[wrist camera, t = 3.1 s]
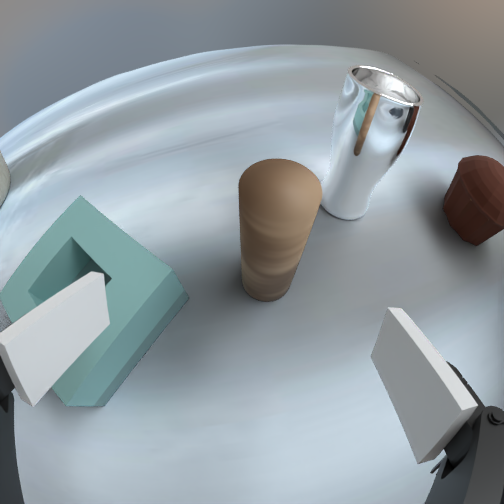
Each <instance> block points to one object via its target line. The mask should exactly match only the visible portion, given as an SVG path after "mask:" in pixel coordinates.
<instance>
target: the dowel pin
mask: <svg viewBox="0 0 504 504" xmlns="http://www.w3.org/2000/svg"><path fill="white" fill-rule="evenodd" d="M321 200H322V187H321V184H320V182H319V180H318V178H317V177H316V176H315V174H314V173H313V172H312V171H310V170H309V169H308V168H306V167H305V166H303V165H301V164H299V163H297V162H294V161H291V160H286V159H267V160H263V161H260V162H257V163H255V164H253V165H251V166H250V167H249V168H247V169H246V170H245V171H244V173H243V174H242V176H241V178H240V180H239V216H240V243H241V269H242V283H243V286H244V289H245V290H246V292H247V293H248V294H249V295H250V296H251V297H253V298H255V299H257V300H259V301H265V302H269V301H275V300H277V299H279V298H281V297H282V296H284V295H285V294H286V292H287V291H288V289H289V287H290V284H291V282H292V279H293V277H294V274H295V272H296V269H297V266H298V264H299V261H300V258H301V256H302V253H303V250H304V248H305V245H306V242H307V239H308V237H309V234H310V231H311V228H312V226H313V223H314V220H315V217H316V214H317V211H318V208H319V206H320V203H321Z"/></svg>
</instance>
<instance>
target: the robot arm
mask: <svg viewBox="0 0 504 504" xmlns="http://www.w3.org/2000/svg"><path fill="white" fill-rule="evenodd" d="M109 324H110V320H109V314H108V307H107V299H106V291H105V281H104V274H103V273H97V272H92V271H91V272H90V273H88V274H87V275H85V276H83V277H82V278H80V279H78V280H77V281H75V282H74V283H72V284H71V285H69V286H67V287H66V288H64V289H63V290H61V291H60V292H58V293H57V294H55V295H54V296H52V297H51V298H49V299H48V300H46V301H45V302H43V303H42V304H40V305H39V306H37V307H36V308H34V309H33V310H31V311H30V312H29V313H27V314H25V315H23V316H22V317H21V318H19V319H18V320H17V321H15V322H14V323H12V325H9V326H8V327H7V328H5V329H4V330H3V331H1V332H0V504H24V500H23V495H22V490H21V485H20V480H19V474H18V467H17V459H16V449H15V436H14V396H13V394H12V392H11V391H12V390H13V389H14V388H15V389H16V390H17V392H18V394H19V396H20V398H21V399H22V400H23V401H25V402H26V403H28V404H29V405H31V406H32V407H34V406H35V405H36V404H37V403H38V402H39V400H40V399H41V398H42V397H43V396H44V395H45V393H46V392H47V391H48V390H49V389H50V388H51V387H52V385H53V384H54V383H55V382H56V381H57V380H58V379H59V378H60V376H61V375H62V374H63V373H64V372H65V371H66V370H67V369H68V368H69V367H70V365H71V364H72V363H73V362H74V361H75V360H76V359H77V358H78V357H79V356H80V355H81V354H82V352H83V351H84V350H85V349H86V348H87V347H88V346H89V345H90V344H91V343H92V342H93V341H94V340H95V339H96V338H97V337H98V336H99V335H100V334H101V333H102V332H103V331H104V329H105V328H106V327H107V326H108V325H109ZM371 358H372V361H373V363H374V365H375V367H376V369H377V371H378V373H379V375H380V377H381V379H382V381H383V384H384V386H385V388H386V390H387V392H388V394H389V397H390V399H391V401H392V403H393V406H394V408H395V410H396V412H397V415H398V417H399V419H400V422H401V424H402V426H403V429H404V431H405V433H406V436H407V438H408V441H409V443H410V446H411V448H412V451H413V453H414V456H415V458H416V461H417V464H420V463H423V462H427V461H430V460H433V459H435V458H436V457H437V456H438V455H439V454H440V453H441V451H442V450H443V449H444V450H445V452H446V454H447V455H446V456H445V457H444V458H443V459H442V460H441V461H440V462H439V463H438V464H437V465H436V466H435V467H434V468H433V469H432V471H431V472H430V473H434V472H435V471H436V470H437V469H438V468H439V470H438V473H437V474H436V478H435V480H434V483H433V485H432V488H431V490H430V493H429V495H428V497H427V499H426V502H425V504H504V411H502V410H501V409H500V408H498V407H495V406H488V407H485V406H484V405H483V403H482V402H481V400H480V399H479V398H478V396H477V395H476V393H475V392H474V391H473V389H472V388H471V387H470V385H469V384H468V385H467V381H466V380H465V379H464V378H462V375H461V374H460V372H459V371H458V370H457V368H455V367H454V366H453V365H451V364H450V363H449V362H447V361H445V360H444V358H443V357H442V356H441V355H440V353H439V352H438V351H437V350H436V348H435V347H434V346H433V345H432V344H431V342H430V341H429V340H428V339H427V337H426V336H425V335H424V334H423V333H422V331H421V330H420V329H419V328H418V327H417V326H416V324H415V323H414V322H413V321H412V320H411V319H410V317H409V316H408V315H407V314H406V313H405V312H404V311H403V309H402V308H387V311H386V314H385V317H384V320H383V324H382V327H381V329H380V332H379V335H378V338H377V341H376V344H375V346H374V349H373V352H372V354H371Z"/></svg>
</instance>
